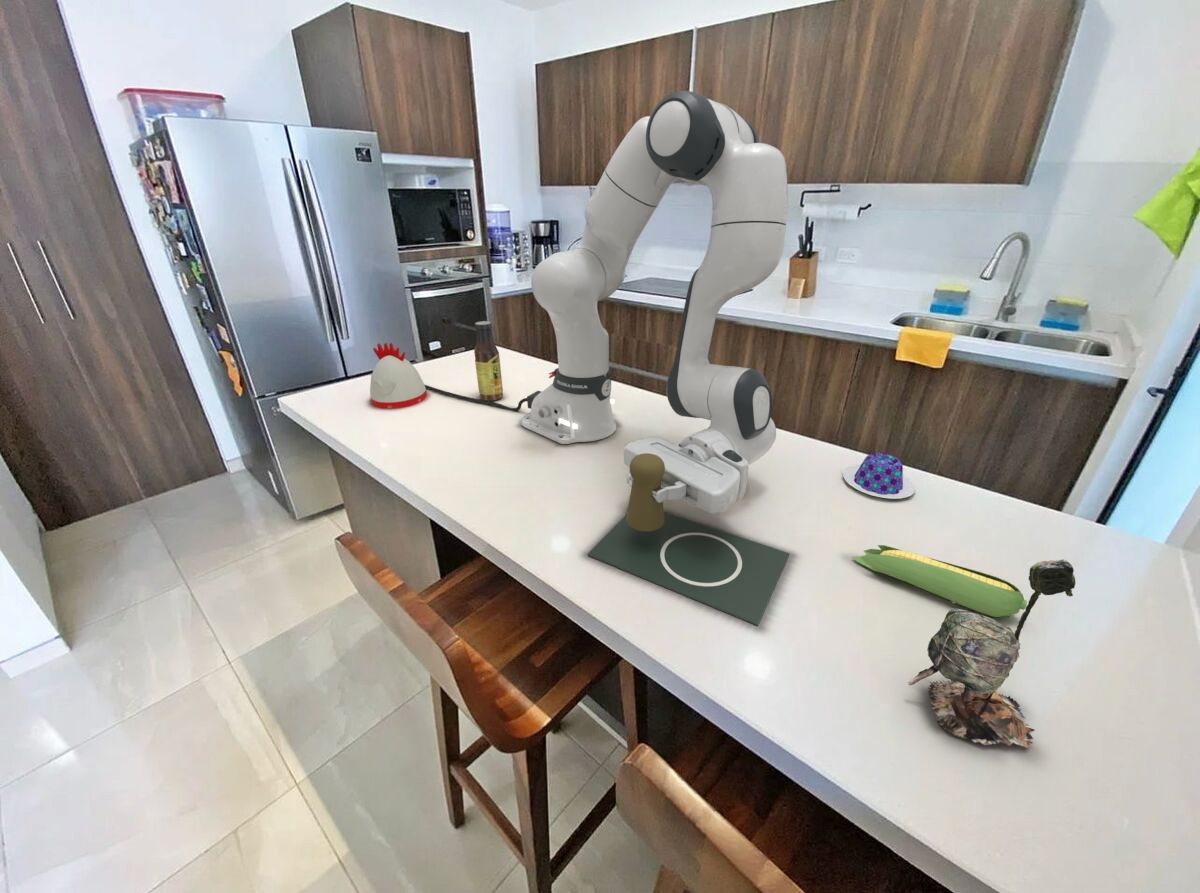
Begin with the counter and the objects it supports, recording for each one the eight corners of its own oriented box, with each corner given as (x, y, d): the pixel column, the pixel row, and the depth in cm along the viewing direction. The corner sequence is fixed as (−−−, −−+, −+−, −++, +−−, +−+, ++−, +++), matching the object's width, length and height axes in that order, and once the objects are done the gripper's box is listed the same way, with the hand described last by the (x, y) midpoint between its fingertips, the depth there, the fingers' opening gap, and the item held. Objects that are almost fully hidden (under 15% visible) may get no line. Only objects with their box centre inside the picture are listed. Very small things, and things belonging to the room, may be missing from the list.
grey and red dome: (388, 387, 140) (377, 335, 133) (435, 389, 138) (425, 336, 131) (361, 407, 128) (346, 350, 121) (411, 409, 126) (399, 352, 119)
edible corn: (1017, 633, 62) (1031, 606, 60) (846, 569, 72) (853, 544, 70) (1017, 607, 66) (1031, 581, 63) (854, 550, 76) (861, 526, 74)
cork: (663, 533, 74) (666, 470, 69) (623, 529, 75) (623, 466, 70) (666, 510, 80) (670, 449, 74) (629, 506, 81) (630, 446, 75)
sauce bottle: (501, 402, 130) (492, 326, 120) (477, 402, 130) (467, 326, 120) (505, 392, 135) (497, 319, 126) (482, 392, 136) (473, 319, 126)
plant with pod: (906, 659, 59) (961, 522, 49) (1026, 707, 53) (1114, 562, 44) (900, 714, 53) (962, 569, 43) (1035, 774, 47) (1139, 623, 38)
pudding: (881, 508, 86) (889, 482, 83) (827, 475, 95) (833, 451, 93) (929, 492, 90) (938, 467, 87) (873, 462, 100) (879, 439, 97)
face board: (587, 555, 76) (587, 553, 75) (637, 504, 88) (637, 502, 87) (757, 625, 63) (758, 623, 63) (788, 555, 75) (789, 552, 75)
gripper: (658, 421, 87) (597, 445, 80) (757, 466, 73) (695, 500, 66) (657, 453, 90) (598, 479, 83) (752, 501, 76) (692, 538, 69)
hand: (642, 489), depth 74 cm, fingers closed on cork, 4 cm apart
